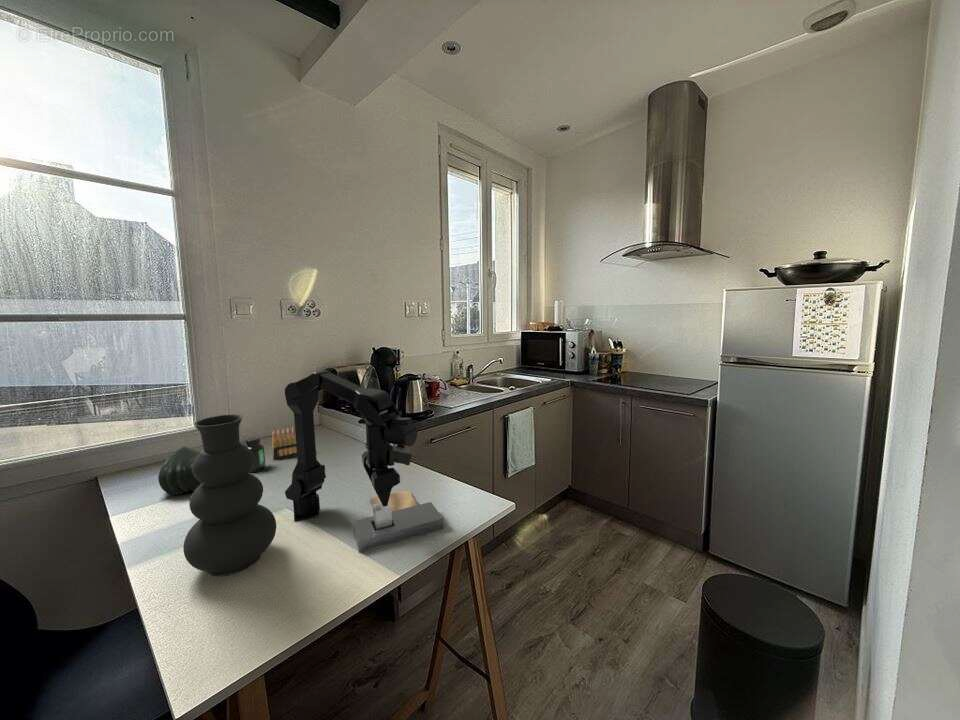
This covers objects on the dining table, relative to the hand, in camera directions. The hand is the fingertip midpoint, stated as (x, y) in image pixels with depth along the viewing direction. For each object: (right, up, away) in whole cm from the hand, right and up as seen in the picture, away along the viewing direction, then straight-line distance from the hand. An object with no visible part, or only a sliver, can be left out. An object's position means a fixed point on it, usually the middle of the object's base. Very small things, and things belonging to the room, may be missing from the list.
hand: (381, 498), depth 101 cm
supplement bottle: (-59, -5, +45) cm, 74 cm away
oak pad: (0, -8, +16) cm, 17 cm away
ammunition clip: (-52, -4, +57) cm, 77 cm away
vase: (-33, -12, -9) cm, 36 cm away
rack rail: (+4, -10, +3) cm, 11 cm away
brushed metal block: (0, -10, +1) cm, 10 cm away
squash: (-72, -8, +29) cm, 78 cm away
